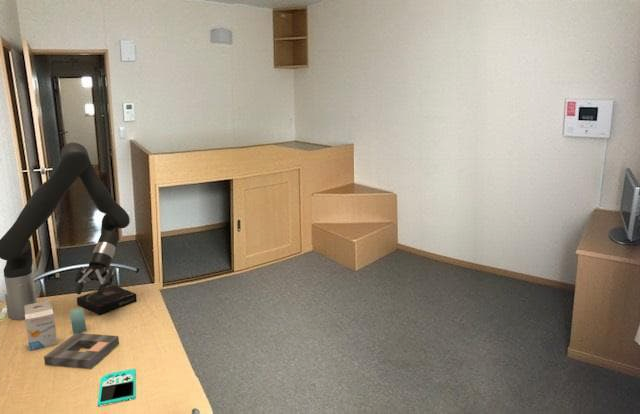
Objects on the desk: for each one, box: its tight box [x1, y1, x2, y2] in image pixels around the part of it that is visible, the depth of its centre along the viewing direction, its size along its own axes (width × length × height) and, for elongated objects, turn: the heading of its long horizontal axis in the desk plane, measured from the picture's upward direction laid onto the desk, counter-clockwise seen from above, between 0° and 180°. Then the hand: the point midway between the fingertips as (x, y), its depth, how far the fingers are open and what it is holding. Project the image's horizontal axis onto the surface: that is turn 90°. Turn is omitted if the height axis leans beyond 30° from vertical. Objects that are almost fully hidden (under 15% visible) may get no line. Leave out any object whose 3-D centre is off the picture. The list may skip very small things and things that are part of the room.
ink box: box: [24, 300, 58, 351], centre depth 164 cm, size 8×5×15 cm, turn 123°
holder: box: [43, 332, 120, 370], centre depth 159 cm, size 16×16×3 cm
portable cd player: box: [76, 285, 137, 316], centre depth 199 cm, size 16×17×4 cm
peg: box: [69, 307, 87, 334], centre depth 175 cm, size 4×4×8 cm
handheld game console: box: [97, 368, 136, 407], centre depth 141 cm, size 10×16×1 cm, turn 21°
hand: (88, 294), depth 180 cm, fingers open, 8 cm apart
